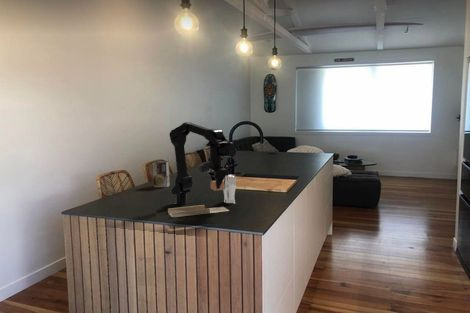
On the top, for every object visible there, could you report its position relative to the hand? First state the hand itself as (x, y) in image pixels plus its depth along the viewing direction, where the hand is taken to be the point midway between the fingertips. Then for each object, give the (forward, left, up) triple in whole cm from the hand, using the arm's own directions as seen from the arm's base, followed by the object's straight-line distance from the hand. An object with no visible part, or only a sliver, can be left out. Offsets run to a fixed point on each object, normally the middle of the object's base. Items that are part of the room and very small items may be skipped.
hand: (216, 187), depth 188 cm
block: (0, +1, -1) cm, 1 cm away
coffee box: (-74, -11, -12) cm, 76 cm away
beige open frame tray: (0, -9, -12) cm, 15 cm away
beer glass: (-13, +12, -12) cm, 21 cm away
